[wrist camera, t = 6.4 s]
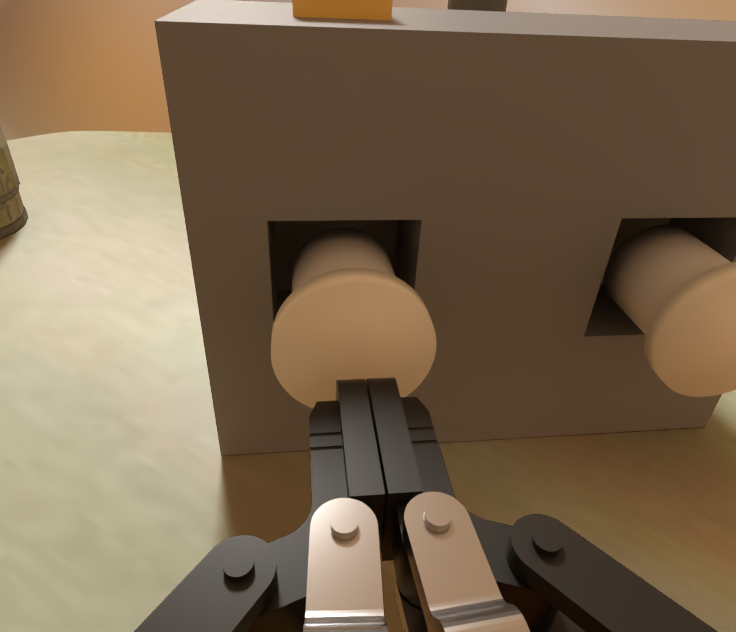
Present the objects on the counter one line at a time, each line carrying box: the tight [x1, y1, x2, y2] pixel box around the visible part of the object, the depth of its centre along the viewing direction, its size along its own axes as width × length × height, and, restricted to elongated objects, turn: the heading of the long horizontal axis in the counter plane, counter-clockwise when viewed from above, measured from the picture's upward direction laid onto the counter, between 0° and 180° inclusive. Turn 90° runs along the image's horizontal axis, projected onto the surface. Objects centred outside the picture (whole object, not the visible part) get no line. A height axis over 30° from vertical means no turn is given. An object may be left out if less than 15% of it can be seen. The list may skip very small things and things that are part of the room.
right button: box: [604, 225, 736, 397], centre depth 19 cm, size 5×5×5 cm
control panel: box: [155, 0, 736, 455], centre depth 23 cm, size 8×22×17 cm, turn 97°
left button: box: [271, 228, 437, 409], centre depth 18 cm, size 5×5×5 cm
